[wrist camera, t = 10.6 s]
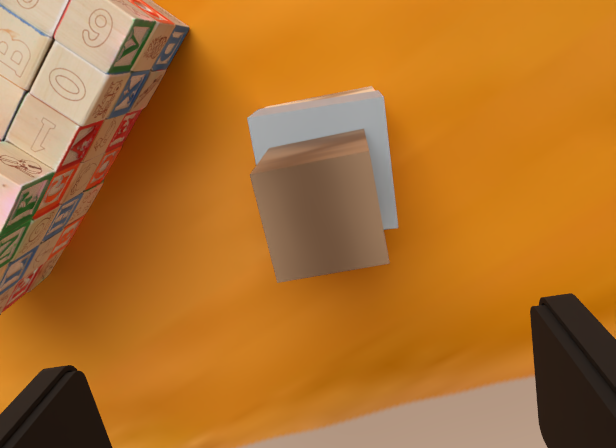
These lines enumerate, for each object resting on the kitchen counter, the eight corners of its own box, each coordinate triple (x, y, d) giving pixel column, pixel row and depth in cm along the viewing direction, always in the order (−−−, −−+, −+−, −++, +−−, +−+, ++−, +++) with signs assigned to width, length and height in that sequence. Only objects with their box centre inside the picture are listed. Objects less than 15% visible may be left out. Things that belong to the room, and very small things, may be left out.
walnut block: (363, 128, 27) (369, 150, 21) (380, 219, 29) (389, 263, 23) (269, 147, 28) (249, 174, 22) (290, 236, 29) (277, 282, 23)
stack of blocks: (106, -34, 33) (-23, -79, 21) (193, 27, 34) (114, 16, 22) (-26, 232, 39) (-182, 311, 27) (50, 278, 40) (-71, 374, 28)
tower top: (378, 90, 30) (383, 96, 26) (391, 206, 32) (398, 227, 29) (258, 109, 31) (247, 118, 27) (279, 221, 33) (271, 244, 29)
